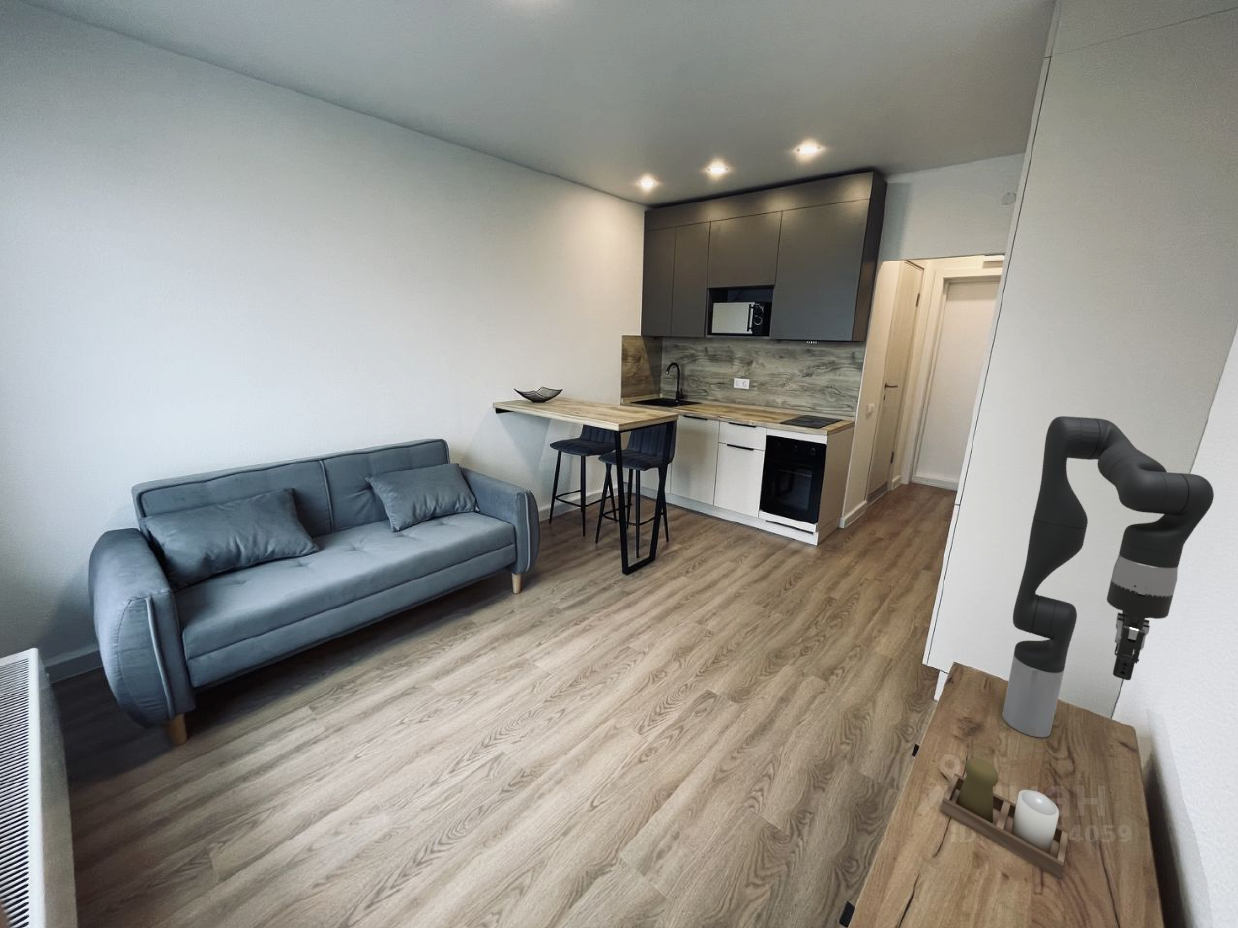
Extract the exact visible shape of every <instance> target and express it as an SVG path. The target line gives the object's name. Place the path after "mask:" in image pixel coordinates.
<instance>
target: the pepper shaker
mask: <svg viewBox="0 0 1238 928" xmlns="http://www.w3.org/2000/svg"><path fill="white" fill-rule="evenodd" d="M964 771H965V774H966V776H965V777H964V778H965V780H964V783H963V785H962V788H961V790H960V793H959V795H958V798H957V800H956V804H957V805H959V806H961V807H963V808H964V809H966V810H968V811H970V812H972V813H974V814H975V815H977V816H979V817H981V818H983V819H985V820H986V821H988V822H990V823H993V793H994V787H995V786H996V785H997V784H998V783H999V778H1000V777H999V773H998V771H997V769H996V767H995V766H994V765H993V764H991V763H990V762H989V761H987V760H985V759H982V758H979V757H970V758H969V759H967V760H966V762H965V764H964Z"/></svg>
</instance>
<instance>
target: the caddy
mask: <svg viewBox="0 0 1238 928" xmlns="http://www.w3.org/2000/svg"><path fill="white" fill-rule="evenodd" d="M965 778H966V777H963V776H961V775H959V774H957V773H953V776H952V778H951V780H950V783H949V784H948V787H947V790H946V792H945V794H944V796H943V798H942V803H941V809H940V813H943V814H945V815H946V816H948V817H950V818H952V819H953V820H955V821H956V822H959V823H961V824H962V825H964V826H966V827H967V828H969V829H971V830H973V831H975V832H977V833H979V834H980V835H981V836H984V837H985V838H987V839H989V840H991V841H992V842H994V843H996V844H998V846H999V845H1000V846H1001V847H1003V848H1004V849H1007V850H1008V851H1010V852H1012V853H1013V854H1015V855H1017V856H1019V857H1021V858H1022V859H1025V860H1026V861H1028V862H1029V863H1031V864H1033V865H1034V866H1036V867H1039V868H1040V869H1042V870H1043V871H1046V872H1048V874H1050V875H1052V876H1054V877H1057V878H1058V879H1060V880H1061V878H1062V873H1063V869H1064V866H1065V865H1064V863H1065V858H1066V857H1065V856H1066V852H1067V851H1066V850H1067V844H1068V837H1069V830H1068V829H1065V828H1064V827H1061V825H1060V826H1059V825H1058V824H1057V825H1056V830H1055V834H1054V838H1053V843H1052V847H1051V851H1050V855H1049V854H1047V853H1045V852H1043V851H1042V850H1040V849H1038V848H1036V847H1034V846H1032V845H1030V844H1029V843H1027V842H1025V841H1023V840H1021V839H1019V838H1018V837H1016V836H1014V835H1012V834H1011V828H1012V824H1013V819H1014V814H1015V809H1016V804H1017V803H1014V802H1012V801H1011V800H1008V799H1007V798H1004V797H1002V796H1001V795H998V794H997V793H995V792H993V823H990V822H988V821H986V820H985V819H983V818H981V817H979V816H977V815H975V814H974V813H972V812H970V811H968V810H966V809H964V808H963V807H961V806H959V805H957V804H956V800H957V798H958V795H959V793H960V790H961V788H962V785H963V783H964V780H965Z"/></svg>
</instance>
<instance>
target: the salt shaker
mask: <svg viewBox="0 0 1238 928" xmlns="http://www.w3.org/2000/svg"><path fill="white" fill-rule="evenodd" d="M1017 795H1018V796H1017V801H1016V803H1015V804H1016V809H1015V814H1014V819H1013V824H1012V828H1011V834H1012V835H1014V836H1016V837H1018V838H1019V839H1021V840H1023V841H1025V842H1027V843H1029V844H1030V845H1032V846H1034V847H1036V848H1038V849H1040V850H1042V851H1043V852H1045V853H1047V854H1049V855H1050V851H1051V847H1052V843H1053V838H1054V834H1055V830H1056V825H1058V820H1059V816H1060V810H1059V808H1058V806H1057V805H1056V804H1055V803H1054V802H1053V801H1052V800H1051V799H1050V798H1049V797H1047V796H1046V795H1045V794H1044V793H1042V792H1039V791H1035V790H1030V789H1021V790H1020V791H1019V792H1018V794H1017Z"/></svg>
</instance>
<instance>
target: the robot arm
mask: <svg viewBox="0 0 1238 928" xmlns="http://www.w3.org/2000/svg"><path fill="white" fill-rule="evenodd" d="M1043 451H1044V452H1043V461H1042V470H1041V480H1040V486H1039V491H1038V494H1037V495H1038V497H1037V500H1036V506H1035V510H1034V513H1033V517H1032V523H1031V528H1030V533H1029V540H1028V547H1027V555H1026V561H1025V565H1024V569H1023V573H1022V577H1021V581H1020V585H1019V588H1018V591H1017V596H1016V599H1015V603H1014V607H1013V613H1012V623H1013V626H1014V627H1015V628H1016V629H1018V630H1019V631H1023V632H1026V633H1029V634H1032V635H1035V636H1039V637H1042V638H1045V639H1044V640H1022V641H1019V642H1017V643H1016V644H1015V646H1014V651H1013V654H1012V655H1013V656H1012V661H1011V668H1010V672H1009V678H1008V683H1007V688H1006V695H1005V697H1004V704H1003V708H1002V713H1001V716H1002V718H1003V719H1002V720H1003V721H1004V722H1005V723H1006V724H1008V726H1010V727H1011V728H1013V729H1015V730H1016V731H1018V732H1020V733H1022V734H1024V735H1028V736H1031V737H1036V738H1047V737H1049V736H1050V735H1051V732H1052V727H1053V724H1054V719H1055V715H1056V709H1057V705H1058V701H1059V696H1060V691H1061V686H1062V682H1063V678H1064V677H1063V676H1064V674H1065V673H1064V672H1065V668H1066V663H1067V662H1066V661H1067V655H1068V651H1069V647H1070V643H1071V641H1072V637H1073V635H1074V631H1075V627H1076V624H1077V618H1078V613H1077V609H1076V606H1075V605H1074V604H1072V603H1071V602H1067V601H1063V600H1059V599H1055V598H1051V597H1049V596H1048V597H1047V596H1043V595H1039V594H1037V593H1036V591H1037V590H1038V588H1039V587H1040V585H1041V584H1042V583H1043V582H1044V581H1045V580H1046V579H1047V578H1048V577H1049V576H1050V575H1051V574H1052V573H1053V572H1054V571H1056V570H1058V569H1059V568H1060V567H1061V566H1063V565H1064V564H1066V563H1067V562H1068V561H1070V560H1071V559H1072V558H1074V556H1077V554H1078V553H1079V552H1080V551H1081V550H1082V549H1083V546H1084V543H1085V538H1086V533H1087V528H1088V522H1089V520H1088V516H1087V513H1086V510H1085V508H1084V507H1083V504H1081V502H1080V500H1079V498H1078V497H1077V495H1076V493H1075V492H1074V490H1073V488H1072V486H1071V483H1070V482H1069V478H1068V473H1067V472H1068V471H1067V461H1068V459H1076V460H1088V461H1089V460H1097V469H1098V471H1099V473H1100V474H1101V476H1102V477H1103V478H1104V479H1105V480H1107V481H1108V482H1109V483H1110V484H1112V485H1113V486H1114V487H1115V489H1116V492H1117V495H1118V500H1119V501H1120V503H1121V505H1122V506H1124V507H1125V508H1127V509H1130V510H1132V511H1135V512H1138V513H1139V512H1140V513H1147V514H1161V515H1162V516H1161V517H1160V518H1159V519H1157V520H1155V521H1150V522H1143V523H1142V522H1139V523H1132V524H1129V525H1128V526H1126V527H1125V529H1124V532H1123V534H1122V540H1121V543H1120V546H1119V547H1120V548H1119V553H1118V555H1117V559H1116V561H1115V563H1114V566H1113V569H1112V573H1111V578H1110V583H1109V588H1108V592H1107V596H1106V602H1107V603H1108V604H1109V606H1111V607H1112V608H1114V609H1116V610H1119V611H1122V612H1118V611H1117V614H1116V619H1115V620H1116V623H1115V629H1116V633H1115V639H1114V643H1115V644H1116V645H1115V649H1114V656H1115V657H1116V659H1115V661H1114V662H1115V663H1114V665H1113V670H1112V675H1113V676H1114V677H1116V678H1119V679H1122V680H1125V681H1131V679H1132V676H1133V671H1134V668H1135V665H1136V664H1138V662H1139V661H1140V652H1141V651H1142V650H1143V649H1144V647H1145V642H1146V636H1148V634H1149V631H1150V627H1151V626H1150V619H1155V620H1157V619H1159V620H1160V619H1165V618H1167V617H1168V616H1169V613H1170V609H1171V606H1172V601H1173V598H1174V594H1175V590H1176V586H1177V583H1178V570H1179V565H1180V562H1181V561H1180V560H1181V558H1182V553H1183V549H1184V545H1185V543H1186V542H1187V540H1188V539H1189V537H1191V534H1192V533H1193V531H1194V530H1195V528H1196V527H1197V526H1198V524H1199V523H1201V521H1202V519H1203V518H1204V517H1205V515H1206V514H1207V513H1208V511H1209V510H1210V509H1211V507H1212V504H1213V502H1214V498H1215V493H1214V489H1213V485H1212V483H1211V482H1210V481H1209V480H1208V479H1206V478H1205V477H1204V476H1202V475H1199V474H1195V473H1185V472H1183V473H1182V472H1170V471H1169V472H1168V471H1167V469H1166V468H1165V466H1163V464H1162V463H1160V461H1159V462H1158V461H1157V460H1156V459H1154V458H1152V457H1151V456H1150V455H1147V454H1146V453H1144V452H1142V451H1141V450H1139V449H1138V448H1137V447H1136V446H1135V445H1133V443H1132V442H1131V440H1130V439H1129V438H1128V437H1127V436H1126V435H1125V434H1124V432H1123V431H1122V430H1121V428H1119V427H1118V425H1116V424H1115V423H1114V422H1112V421H1110V420H1107V419H1104V418H1098V417H1097V418H1096V417H1083V416H1082V417H1080V416H1056V417H1055V418H1054V419H1053V420H1052V421H1051V422H1050V423H1049V425H1048V428H1047V432H1046V435H1045V441H1044V450H1043Z"/></svg>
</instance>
